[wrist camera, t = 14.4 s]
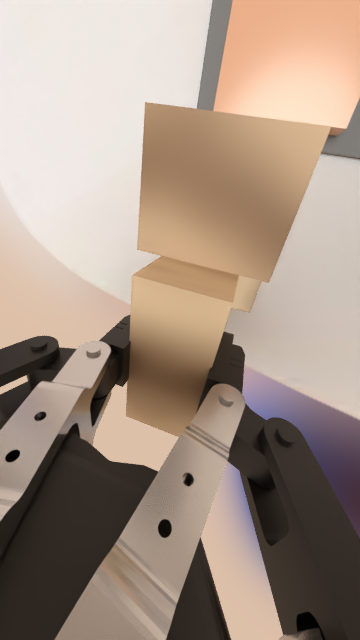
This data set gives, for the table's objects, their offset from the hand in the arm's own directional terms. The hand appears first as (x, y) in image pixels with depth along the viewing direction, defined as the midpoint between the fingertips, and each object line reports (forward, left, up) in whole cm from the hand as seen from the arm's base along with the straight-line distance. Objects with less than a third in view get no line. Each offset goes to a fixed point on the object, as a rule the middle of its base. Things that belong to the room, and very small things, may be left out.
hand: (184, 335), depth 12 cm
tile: (-6, -16, -12) cm, 21 cm away
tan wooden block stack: (0, -3, 0) cm, 3 cm away
